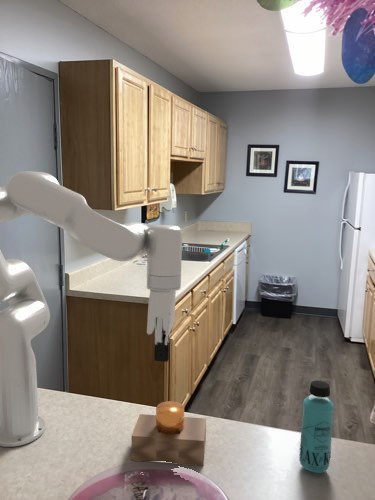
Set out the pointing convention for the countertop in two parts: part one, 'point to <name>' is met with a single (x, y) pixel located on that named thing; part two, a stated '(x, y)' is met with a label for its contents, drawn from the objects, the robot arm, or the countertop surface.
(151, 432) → the block
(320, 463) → the beverage bottle
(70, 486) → the countertop surface
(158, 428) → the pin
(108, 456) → the countertop surface
